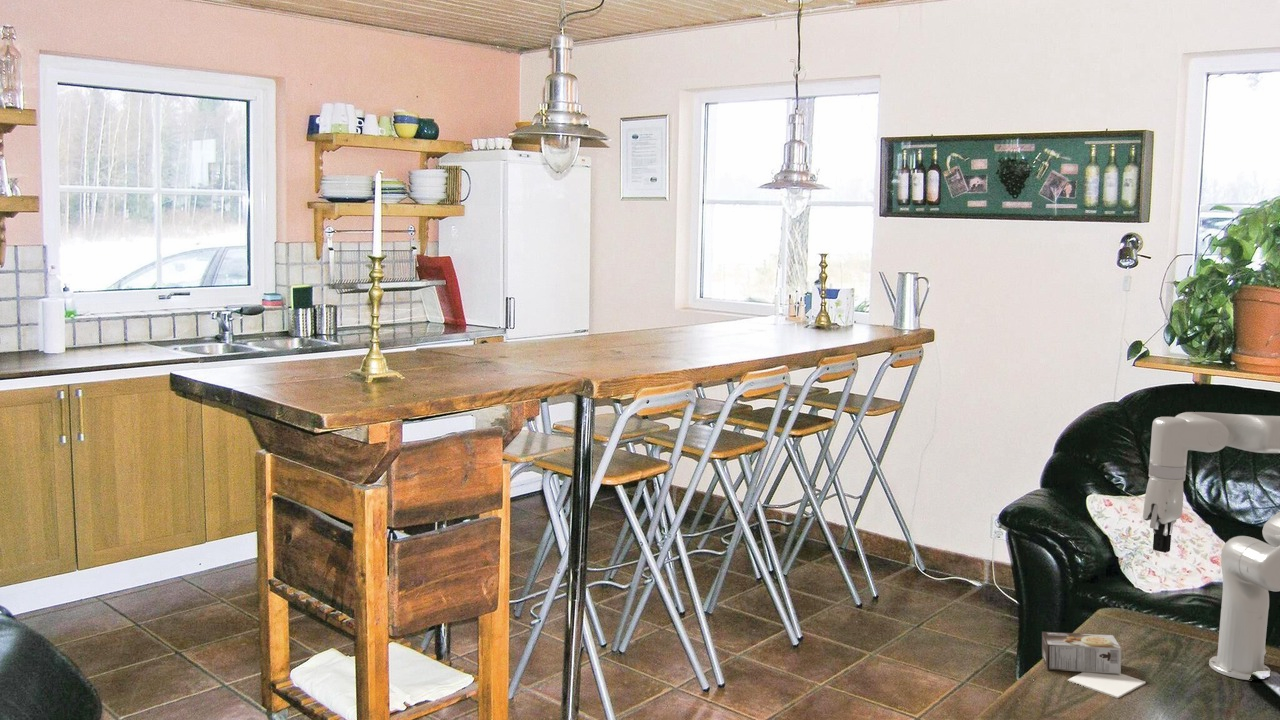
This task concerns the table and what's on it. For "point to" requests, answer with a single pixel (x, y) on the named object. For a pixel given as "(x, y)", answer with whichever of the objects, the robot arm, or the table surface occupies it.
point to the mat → (1107, 683)
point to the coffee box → (1081, 652)
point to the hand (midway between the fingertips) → (1161, 550)
